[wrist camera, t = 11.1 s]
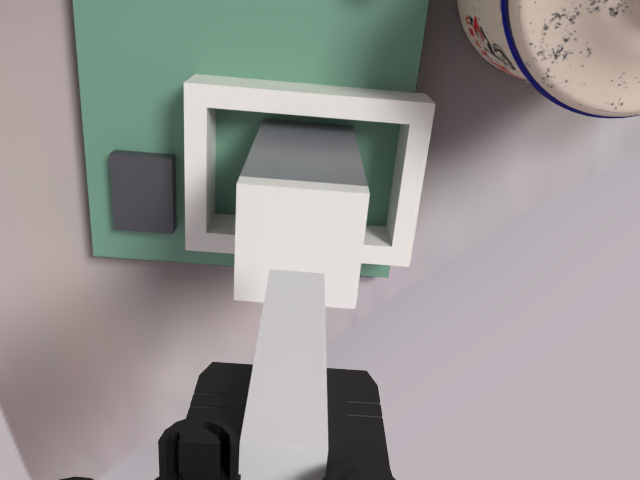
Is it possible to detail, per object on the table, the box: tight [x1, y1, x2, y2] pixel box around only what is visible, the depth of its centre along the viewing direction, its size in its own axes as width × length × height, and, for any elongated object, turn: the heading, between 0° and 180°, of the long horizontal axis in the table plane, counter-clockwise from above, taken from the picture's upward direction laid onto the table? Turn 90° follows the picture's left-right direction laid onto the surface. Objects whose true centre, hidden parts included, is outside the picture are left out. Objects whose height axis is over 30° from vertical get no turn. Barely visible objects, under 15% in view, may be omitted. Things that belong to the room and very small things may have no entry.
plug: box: [234, 119, 370, 309], centre depth 25 cm, size 5×4×10 cm
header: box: [184, 74, 436, 267], centre depth 28 cm, size 8×11×3 cm
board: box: [72, 0, 429, 278], centre depth 28 cm, size 18×16×3 cm
